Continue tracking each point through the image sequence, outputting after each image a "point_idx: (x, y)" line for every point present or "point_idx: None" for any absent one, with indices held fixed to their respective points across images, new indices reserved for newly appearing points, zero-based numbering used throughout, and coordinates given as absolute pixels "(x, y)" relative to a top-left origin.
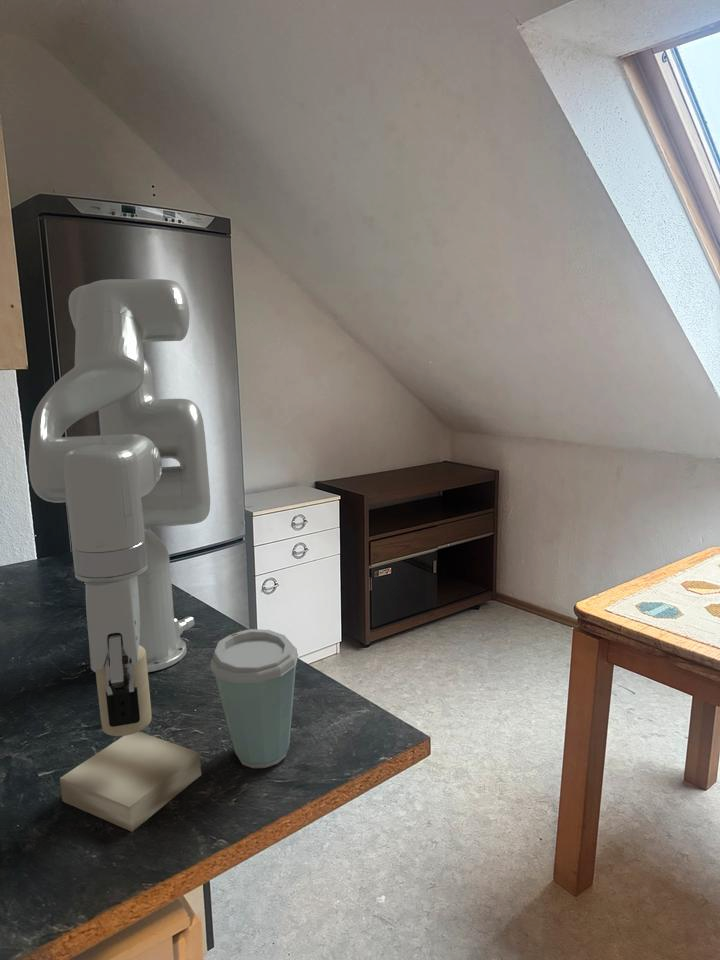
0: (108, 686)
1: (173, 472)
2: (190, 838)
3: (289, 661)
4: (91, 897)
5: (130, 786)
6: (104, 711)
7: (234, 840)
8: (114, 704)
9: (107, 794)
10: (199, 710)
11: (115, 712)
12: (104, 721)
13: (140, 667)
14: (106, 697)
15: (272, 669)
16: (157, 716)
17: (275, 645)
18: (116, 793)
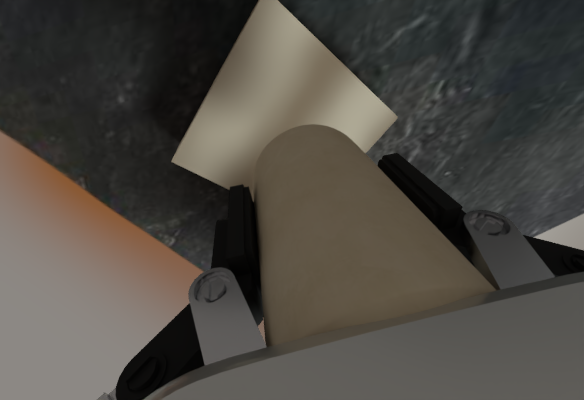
0: (195, 315)
1: None
2: (172, 212)
3: None
4: (32, 117)
5: (226, 150)
6: (271, 177)
7: (173, 250)
8: (214, 255)
9: (204, 117)
10: (443, 178)
11: (216, 235)
12: (271, 156)
13: None
14: (227, 247)
15: None
16: (460, 122)
17: None
18: (206, 132)
